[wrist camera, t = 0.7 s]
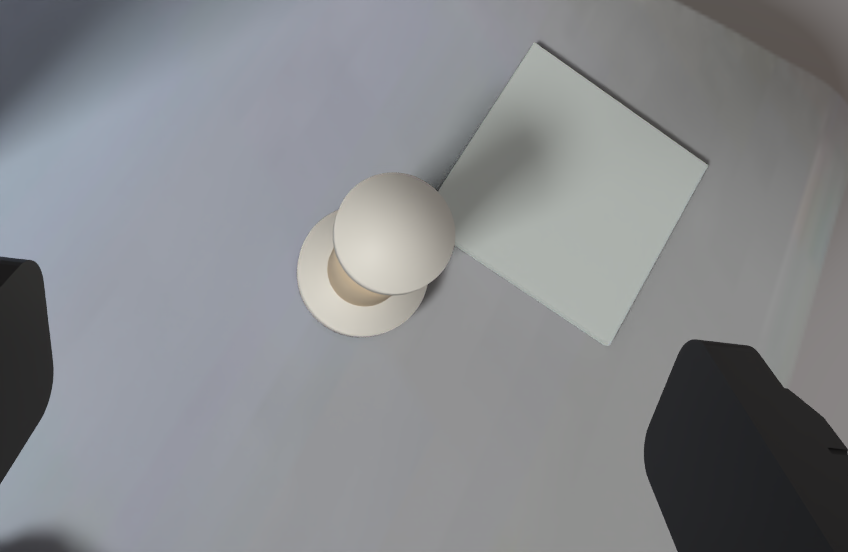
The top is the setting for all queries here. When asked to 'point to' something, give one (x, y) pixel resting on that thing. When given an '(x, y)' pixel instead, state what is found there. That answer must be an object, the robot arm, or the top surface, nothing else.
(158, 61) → the top surface
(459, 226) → the mat
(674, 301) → the top surface
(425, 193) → the stool
